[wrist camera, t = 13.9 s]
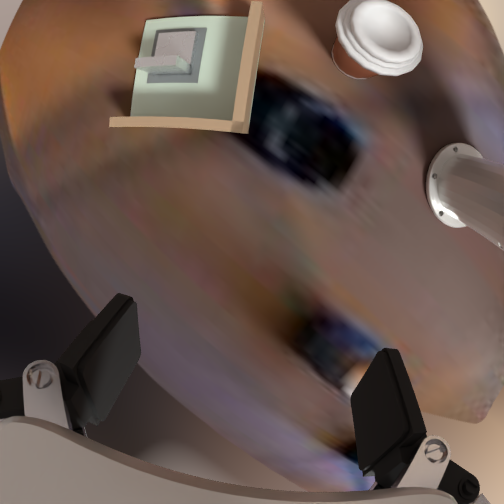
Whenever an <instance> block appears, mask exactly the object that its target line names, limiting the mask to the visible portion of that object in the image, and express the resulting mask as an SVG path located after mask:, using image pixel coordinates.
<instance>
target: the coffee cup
mask: <svg viewBox="0 0 504 504" xmlns="http://www.w3.org/2000/svg"><path fill="white" fill-rule="evenodd" d="M335 27H336V32H337V38H336V40H335V43H334V45H333V48H332V52H331V53H332V58H333V62H334V63H335V65H336V67H337V68H338V69H339V70H340V71H341V72H342V73H343V74H345V75H346V76H349V77H351V78H354V79H366V78H369V77H373V76H376V75H385V76H399V75H402V74H404V73H407V72H410V71H412V70H413V69H414V68H415V67H416V66H417V64H418V63H419V62H420V61H421V56H422V51H423V43H422V39H421V35H420V32H419V28H418V26H417V25H416V23H415V22H414V20H413V19H412V17H411V16H410V15H409V14H408V13H407V12H406V11H404V10H403V9H402V8H401V7H400V6H398V5H396V4H394V3H391V2H389V1H387V0H350V1H349V2H348V3H347V4H345V5H344V6H343V7H342V8H341V9H340V10H339V12H338V16H337V20H336V24H335Z"/></svg>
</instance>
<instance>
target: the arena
mask: <svg viewBox="0 0 504 504" xmlns="http://www.w3.org/2000/svg"><path fill="white" fill-rule="evenodd" d="M264 23H265V17H264V10H263V2H258V1H251V6H250V11H249V17H239V16H189V17H173V18H162V19H153V20H146V24H145V29H144V33H143V38H142V42H141V47H140V53H139V58H142V57H153V56H155V50H156V45H157V40H158V35H159V33H167V32H183V31H196V32H197V33H198V39H197V45H196V51H195V56H194V63H193V69H192V75H159V76H155V75H152V74H150V73H147V72H145V71H142V70H139V69H137V70H136V76H135V83H134V90H133V97H132V106H131V115H130V117H110V124H109V127H173V128H191V129H205V130H217V131H227V132H236V133H248V130H249V122H250V115H251V108H252V101H253V94H254V88H255V81H256V74H257V68H258V61H259V54H260V48H261V42H262V35H263V29H264Z"/></svg>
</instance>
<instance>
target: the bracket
mask: <svg viewBox="0 0 504 504" xmlns="http://www.w3.org/2000/svg"><path fill="white" fill-rule="evenodd" d="M197 39H198V33H197V32H196V31H183V32H167V33H159V35H158V40H157V45H156V50H155V56H153V57H142V58H136V60H135V66H134V68H137V69H139V70H142V71H145V72H147V73H150V74H152V75H155V76H159V75H192V69H193V63H194V56H195V51H196V45H197Z"/></svg>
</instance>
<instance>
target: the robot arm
mask: <svg viewBox="0 0 504 504" xmlns="http://www.w3.org/2000/svg"><path fill="white" fill-rule="evenodd" d="M432 175H433V176H432ZM426 194H427V199H428V202H429V205H430V208H431V210H432V211H433V213H434V215H435V216H436V217H437V218H438V219H439V220H440V221H441V222H443V223H444V224H446V225H448V226H450V227H454V228H461V227H465V226H468V227H470V228H471V229H473V230H474V231H476V232H477V233H479V234H480V235H482V236H483V237H485V238H486V239H488V240H489V241H491V242H492V243H494V244H495V245H496V246H498V247H499V248H501V249H502V250H503V251H504V164H502V163H498V162H494V161H491V160H487V159H484V158H483V157H482V155H481V154H480V153H479V152H478V151H477V150H476V149H475V148H473V147H472V146H470V145H467V144H464V143H451V144H449V145H446V146H445V147H443V148H442V149H440V150H439V152H438V153H437V154H436V155H435V157H434V158H433V160H432V162H431V164H430V166H429V169H428V173H427V179H426ZM140 355H141V347H140V338H139V327H138V314H137V303H136V302H134V301H133V298H132V297H130V296H127V295H124V294H120V293H118V294H116V295H115V297H114V298H113V299H112V300H111V301H110V302H109V303H108V304H107V305H106V306H105V308H104V309H103V310H102V311H101V312H100V313H99V314H98V316H97V317H96V318H95V319H94V320H92V321H90V322H89V324H88V325H87V326H86V327H85V328H84V329H83V330H82V332H81V333H80V334H79V335H78V336H77V337H76V339H75V340H74V341H73V342H72V343H71V345H70V346H69V347H68V348H67V349H66V351H65V352H64V353H63V354H62V356H61V357H60V358H59V359H58V361H57V362H56V363H55V364H53V363H51V362H49V361H46V360H38V361H35V362H33V363H31V364H29V365H28V366H27V367H26V369H25V371H24V373H23V377H18V378H12V379H6V380H0V504H490V503H489V501H488V500H487V499H486V498H485V496H484V495H483V494H480V495H479V491H480V487H479V486H480V485H479V482H478V480H477V478H476V477H475V476H474V475H472V474H471V473H469V472H468V471H466V470H465V469H463V468H462V467H460V466H459V465H457V464H456V463H454V462H453V461H451V460H450V456H451V450H450V447H449V445H448V443H447V442H446V441H445V440H444V439H443V438H441V437H439V436H434V435H432V436H429V437H427V435H426V432H427V431H426V427H425V424H424V421H423V418H422V415H421V411H420V408H419V405H418V402H417V399H416V396H415V393H414V390H413V388H412V385H411V382H410V379H409V376H408V374H407V371H406V368H405V366H404V363H403V360H402V358H401V355H400V353H399V351H398V350H397V349H390V348H384V349H382V351H379V352H378V353H377V354H376V356H375V358H374V359H373V361H372V363H371V364H370V366H369V368H368V369H367V371H366V373H365V374H364V376H363V377H362V379H361V381H360V382H359V384H358V385H357V387H356V388H355V390H354V391H353V393H352V395H351V408H352V415H353V422H354V429H355V437H356V446H357V454H358V464H359V469H360V470H362V472H363V477H365V476H375V482H374V484H373V485H372V487H371V488H370V489H369V490H368V491H350V492H296V491H282V490H271V489H262V488H254V487H247V486H240V485H234V484H228V483H223V482H218V481H213V480H209V479H204V478H200V477H196V476H192V475H188V474H184V473H180V472H177V471H173V470H170V469H166V468H163V467H160V466H157V465H154V464H151V463H148V462H145V461H142V460H140V459H137V458H134V457H132V456H129V455H127V454H124V453H121V452H119V451H116V450H114V449H111V448H109V447H107V446H104V445H102V444H100V443H98V442H95V441H93V440H91V439H89V438H87V435H86V432H85V428H84V427H85V426H86V424H87V422H90V423H92V424H95V425H97V426H98V424H99V422H100V420H101V421H104V420H105V419H106V417H107V416H108V414H109V412H110V410H111V408H112V406H113V404H114V403H115V401H116V399H117V397H118V396H119V394H120V392H121V390H122V388H123V386H124V384H125V383H126V381H127V379H128V378H129V376H130V374H131V372H132V371H133V369H134V367H135V365H136V364H137V362H138V360H139V358H140Z"/></svg>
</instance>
